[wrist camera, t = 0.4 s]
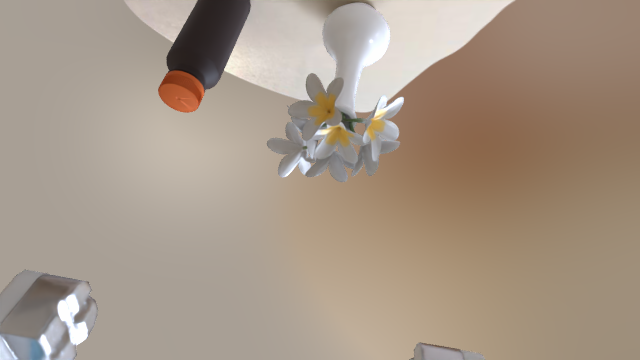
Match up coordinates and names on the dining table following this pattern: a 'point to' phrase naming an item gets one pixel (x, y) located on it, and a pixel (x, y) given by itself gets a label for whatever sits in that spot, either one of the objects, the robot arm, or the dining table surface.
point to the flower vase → (341, 103)
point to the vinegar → (202, 51)
